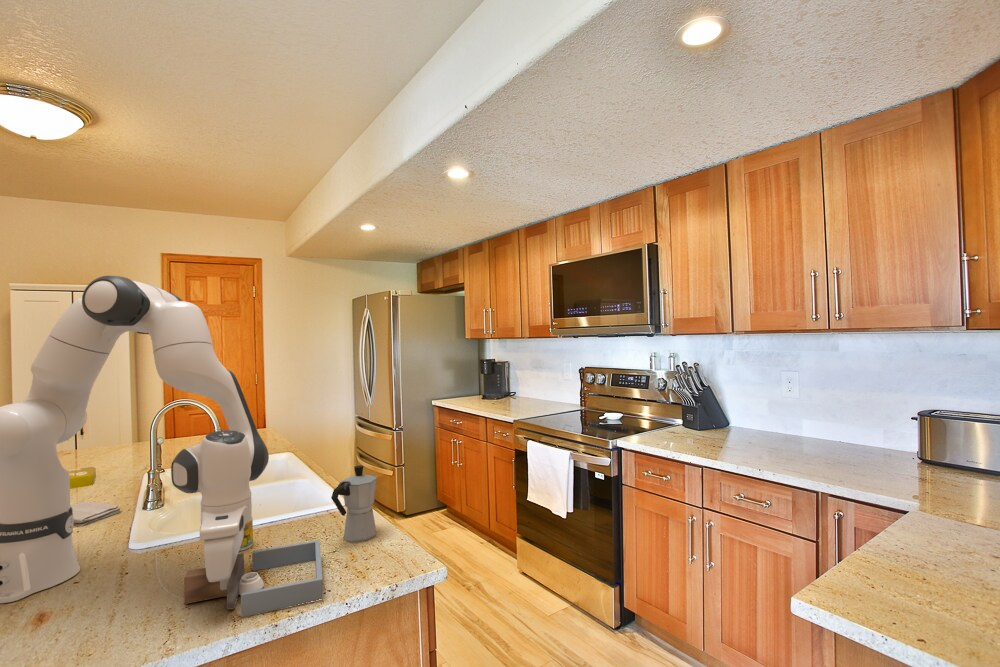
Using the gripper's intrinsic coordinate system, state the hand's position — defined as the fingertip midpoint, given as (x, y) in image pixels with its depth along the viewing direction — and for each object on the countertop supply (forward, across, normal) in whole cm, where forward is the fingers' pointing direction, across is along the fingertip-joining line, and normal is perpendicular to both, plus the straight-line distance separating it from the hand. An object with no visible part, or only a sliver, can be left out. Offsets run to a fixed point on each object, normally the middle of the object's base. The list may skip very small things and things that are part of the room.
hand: (227, 582), depth 95 cm
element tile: (+3, -112, -67) cm, 130 cm away
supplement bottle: (+3, -24, -1) cm, 24 cm away
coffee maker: (+3, -18, +26) cm, 32 cm away
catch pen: (+2, 0, +10) cm, 11 cm away
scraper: (+2, 0, -3) cm, 3 cm away
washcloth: (+3, -68, -48) cm, 83 cm away
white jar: (+3, 0, +4) cm, 5 cm away
